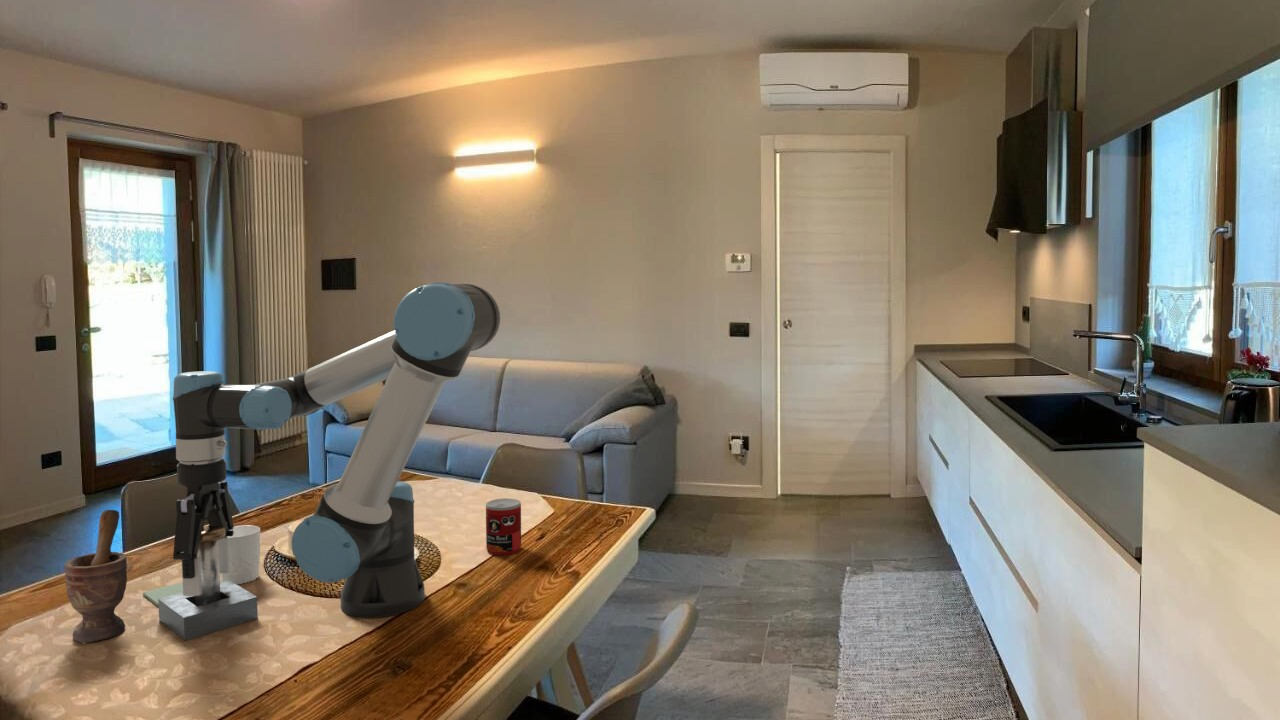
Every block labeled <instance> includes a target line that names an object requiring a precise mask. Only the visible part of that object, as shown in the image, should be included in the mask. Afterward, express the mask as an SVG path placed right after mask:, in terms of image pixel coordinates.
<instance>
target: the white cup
mask: <svg viewBox="0 0 1280 720" xmlns="http://www.w3.org/2000/svg"><path fill="white" fill-rule="evenodd" d="M229 531H234V534H233V536H227V538H228V558H229V572H228V573H220V576H221V579H220V580H221V582H224V581H228V580H230V581H232V582H233V583H235V584H237V585H244V584H247V582H248V583H251V582H254V581H256V580H257V579H258V578H259V576H260V560H261V559H260V558H261V557H260V556H261V528H260V526H257V525H253V524H252V525H250V524H249V525H247V524H246V525H236V526H234V525H233V530H229ZM256 578H257V579H256ZM250 581H251V582H250ZM243 583H244V584H243Z"/></svg>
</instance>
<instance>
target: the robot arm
mask: <svg viewBox="0 0 1280 720" xmlns="http://www.w3.org/2000/svg"><path fill="white" fill-rule="evenodd" d="M496 301H497V300H495V298H494V297H493V296H492V295H491V294H490V293H489V292H488V291H487V290H485V289H484V288H482V287H481V286H478V285H474V284H472V283H471V284H470V283H461V284H460V283H459V284H458V283H446V282H433V283H429V284H426V285H421V286H419V287H416V288H414V289H412V290H411V291H409V292H408V293H407V294H406V295H405V296H404V297H402V299H401V301H400V302H399V304H397V307H396V309H395V312H394V316H393V323H392V324H393V325H392V326H393V330H392V331H389V332H388V333H386V334H383V335H381V336H378V337H377V338H374V339H372V340H370V341H367V342H365V343H363V344H361V345H359V346H356V347H354V348H352V349H350V350H347V351H346V352H343V353H341V354H339V355H336V356H335V357H332V358H330V359H328V360H325V361H323V362H321V363H319V364H316V365H315V366H312V367H310V368H308V369H306V370H303V371H301V372H298V373H297V374H295V375H292V376H289V377H286V378H281V379H275V380H271V381H265V382H259V383H254V384H253V383H252V384H225V383H224V379H223V375H222V374H221V372H219V371H213V370H206V371H205V370H203V371H187V372H181V373H178V374H177V375H176V376H175V377H174V379H173V396H172V401H173V411H174V421H175V422H174V424H175V425H174V426H175V459H176V460H177V461H178V463H177V465H176V473H177V483H178V484H179V485H180V486H184V487H186V494H185V498H184V499H177V500H176V503H175V509H176V519H175V520H176V522H175V523H176V524H175V531H174V532H175V535H174V544H173V545H174V546H173V554H172V558H173V560H176V561H177V560H178V561H179V560H181V575H182V582H183V596H197V595H201V594H202V586H201V564H200V557H197V554H198V548H199V543H200V538H201V533H202V528H203V523H204V522H205V520H207V523H208V526H222V527H225V537H224V538H222V539H220V540H218V550H219V573H220V574H221V573H228V572H229V558H228V538H227V536H233V534H234V531H229V530H233V527H234V520H233V516H232V510H231V504H230V498H229V494H228V490H229V488H228V486H229V485H228V481H225V480H226V479H227V461H226V459H225V458H224V457H225V455H226V446H227V445H228V442H227V440H225V439H226V437H225V433H226V432H225V429H244V430H256V431H260V432H261V431H266V430H278V429H281V428H282V427H284V426H285V423H286V422H288V421H289V420H291V419H295V418H300V417H305V416H309V415H312V414H315V413H317V412H319V411H321V410H322V409H323V408H324V407H326V406H328V405H330V404H332V403H335V402H337V401H340V400H342V399H343V398H346V397H348V396H351V395H353V394H355V393H358V392H359V391H362V390H365V389H366V388H369V387H371V386H374V385H376V384H378V383H381V382H382V381H383V382H384V381H385V380H386V381H385V383H384V385H383V388H382V390H381V391H380V394H379V396H378V398H377V400H376V402H375V405H374V407H373V409H372V410H371V413H370V415H369V418H368V420H367V422H366V424H365V425H364V428H363V430H362V432H361V434H360V437H359V439H358V440H357V443H356V445H355V447H354V449H353V452H352V453H351V456H350V458H349V460H348V462H347V464H346V466H345V469H344V471H343V473H342V475H341V478H340V480H339V482H336V483H334V484H331V485H329V486H327V487H326V488H325V490H324V492H323V493H322V496H321V497H320V500H319V502H318V505H317V507H316V509H315V511H314V513H313V514H312V515H310V516H308V517H306V518H303V520H302V521H301V522H300V523H299V524H298V525H297V526H296V527H295V529H294V531H293V533H292V537H291V550H292V551H291V552H292V555H293V556H294V557H295V559H296V563H297V565H298V566H299V568H300V569H301V570H302V571H303V573H305V574H306V575H307V576H309V577H310V578H312V579H314V580H316V581H318V582H320V583H321V582H322V583H336V582H340V581H342V580H344V579H345V580H344V582H343V586H342V589H341V592H340V608H341V610H342V611H343V612H344V613H345V614H347V615H349V616H353V617H360V618H385V617H389V616H394V615H395V616H396V615H399V614H403V613H406V612H409V611H411V610H413V609H415V608H417V607H419V606H420V605H421V604H422V603H423V602H424V600H425V597H426V596H425V593H426V592H425V591H426V590H425V588H426V587H425V583H424V581H423V577H422V575H421V573H420V570H419V567H418V565H417V562H416V559H415V516H414V514H415V509H414V507H415V506H414V505H415V499H414V493H413V487H412V486H411V484H410V483H408V482H405V481H400V480H399V479H400V477H401V475H402V473H403V471H404V468H405V467H406V465H407V463H408V460H409V458H410V456H411V454H412V452H413V450H414V447H415V446H416V443H417V442H418V439H419V437H420V435H421V434H422V431H423V430H424V427H425V425H426V423H427V421H428V418H429V416H430V415H431V412H432V410H433V408H434V406H435V404H436V402H437V400H438V397H439V396H440V394H441V391H442V390H443V387H444V385H445V384H446V382H449V381H452V380H455V379H457V378H459V375H460V374H461V371H462V370H463V368H464V366H465V364H466V362H467V359H468V357H469V355H470V353H471V352H474V351H477V350H479V349H482V348H484V347H486V346H487V345H488V344H490V342H492V340H493V339H494V338H495V337H496V335H497V333H498V331H499V329H500V324H501V312H500V309H499V305H498V303H497V302H496Z"/></svg>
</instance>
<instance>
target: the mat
mask: <svg viewBox="0 0 1280 720" xmlns="http://www.w3.org/2000/svg"><path fill="white" fill-rule="evenodd" d="M182 592H183V581H182V582H178V583H174V584H170V585H166V586H162V587H157V588H155V589H149V590H147V591H143V592H142V595H144V598H146V597H147V598H148V600H149V601H150V602H151V603H153V604H154V605H155V606H156V607H158V608H159V605H158V599H160V598H163V597H167V596H171V595H175V594H178V593H182ZM147 598H146V599H147Z"/></svg>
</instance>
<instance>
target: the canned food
mask: <svg viewBox="0 0 1280 720" xmlns="http://www.w3.org/2000/svg"><path fill="white" fill-rule="evenodd" d="M485 530H486V531H485V538H486V539H485V541H486V545H485V546H486V547H485V548H486V550H487V551H486V552H488V553H489V554H491V555H494V556H510V555H513V554H516V553H518V552H519V551H521V548H522V547H521V546H522V504H521V501H520V500H518V499H516V498H496V499H492V500H490V501H487V502H486V503H485Z"/></svg>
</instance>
